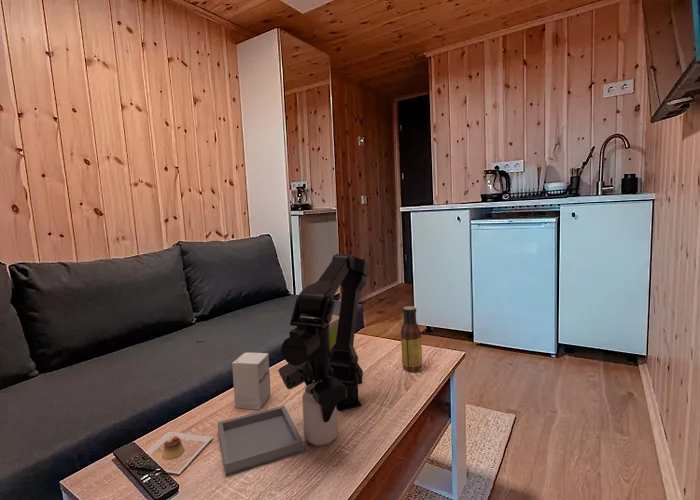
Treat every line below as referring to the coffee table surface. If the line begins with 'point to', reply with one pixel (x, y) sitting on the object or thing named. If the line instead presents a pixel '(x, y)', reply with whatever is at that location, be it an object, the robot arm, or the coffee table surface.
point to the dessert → (177, 447)
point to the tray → (258, 439)
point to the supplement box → (251, 380)
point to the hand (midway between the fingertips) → (319, 412)
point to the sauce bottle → (411, 341)
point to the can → (317, 420)
